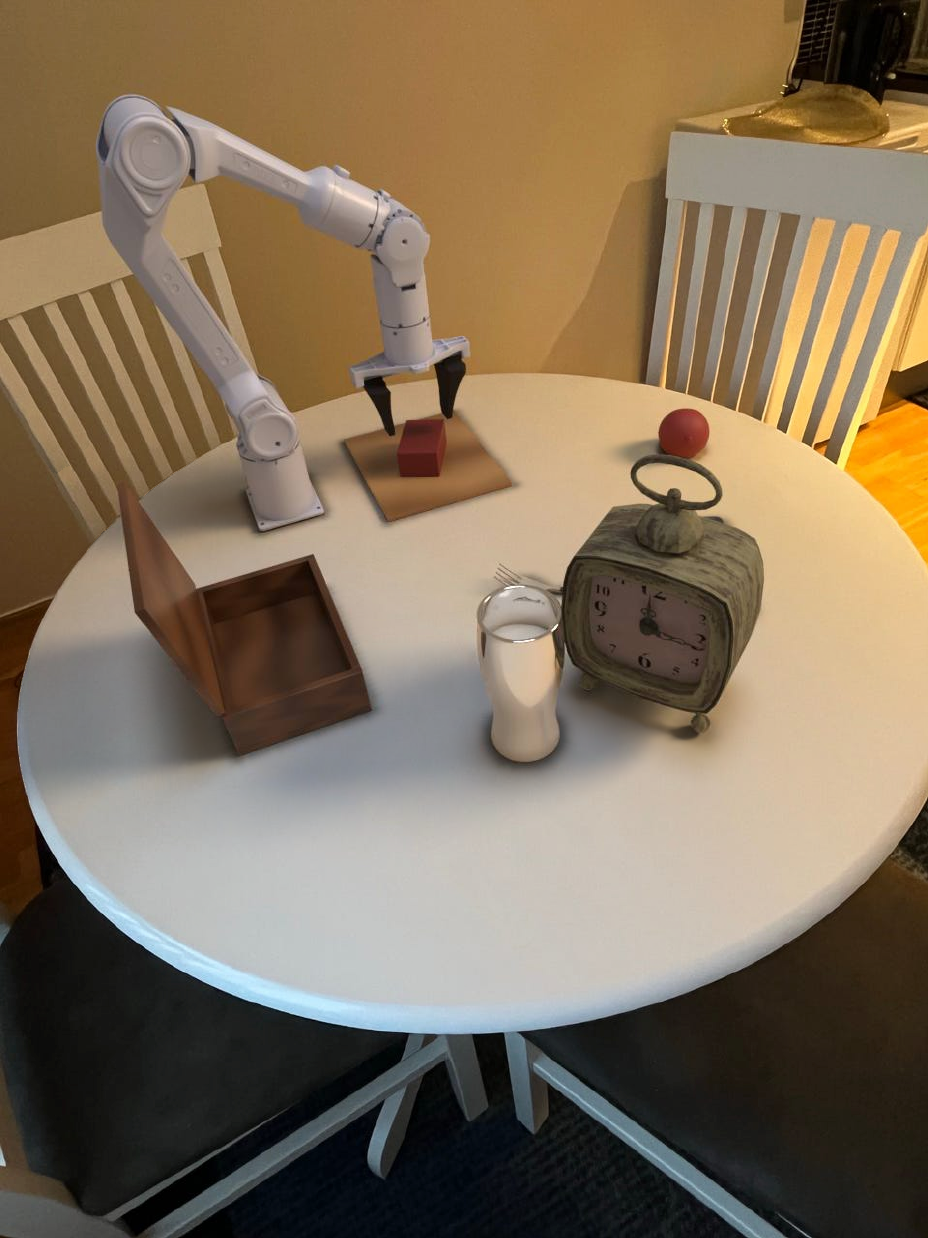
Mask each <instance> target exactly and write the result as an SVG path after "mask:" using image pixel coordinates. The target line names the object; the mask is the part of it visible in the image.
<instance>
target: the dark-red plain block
mask: <svg viewBox="0 0 928 1238" xmlns="http://www.w3.org/2000/svg"><path fill="white" fill-rule="evenodd" d="M404 423H405V426H404V430H403V433H402V437H401V440H400V444H399V447H398V451H397V458H398V465H399V471H400V477H439V476H440V472H441V467H442V462H443V457H444V453H445V448H446V443H447V441H446V431H445V422H444V419H426V420H419V419H406V420H405V422H404Z"/></svg>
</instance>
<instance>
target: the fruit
mask: <svg viewBox="0 0 928 1238" xmlns="http://www.w3.org/2000/svg"><path fill="white" fill-rule="evenodd" d="M657 433H658V442H659V444H660V446H661V448H662V449H663V450H664V452H665V453H666V455H672V456H677V457H681V458H685V459H691V458H693V457H695V456H697V455H698V454H699V453H701V452H702V451H703V450H704V448H705V447H706V445H707V443H708V441H709V438H710V425H709V422H708V420H707V418H706V416H705V415H704V414H703V413H702V412H700V411H699V410H696V409H693V408H678V409H675V410H672V411H670V412H669V413H667V414H666V415H665V416H664V417H663V419H662V420H661V422H660V424H659V427H658V432H657Z"/></svg>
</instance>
